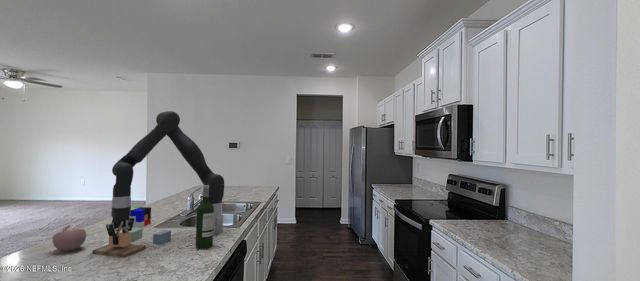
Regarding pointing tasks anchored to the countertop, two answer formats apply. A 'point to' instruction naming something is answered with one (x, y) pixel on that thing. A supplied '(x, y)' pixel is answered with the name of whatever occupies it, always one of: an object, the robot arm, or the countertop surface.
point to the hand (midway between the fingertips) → (120, 242)
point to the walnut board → (119, 250)
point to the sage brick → (136, 234)
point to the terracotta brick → (121, 240)
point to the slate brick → (161, 237)
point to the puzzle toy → (141, 216)
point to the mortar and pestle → (69, 239)
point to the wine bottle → (204, 222)
